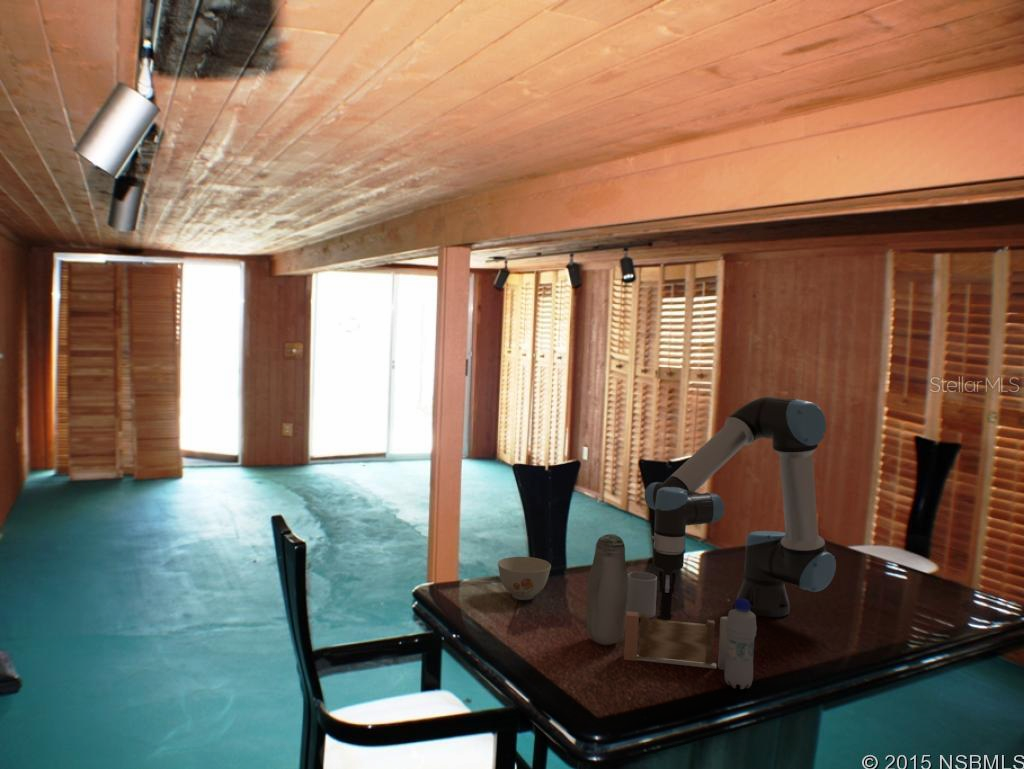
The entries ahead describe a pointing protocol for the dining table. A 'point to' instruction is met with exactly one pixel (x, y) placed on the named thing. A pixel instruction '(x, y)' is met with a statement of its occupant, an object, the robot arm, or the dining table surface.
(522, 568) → the bowl
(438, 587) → the dining table surface
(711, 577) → the dining table surface
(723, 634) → the fence
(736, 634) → the bottle
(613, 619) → the white tapered flask
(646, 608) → the mug
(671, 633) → the gate
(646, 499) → the robot arm
